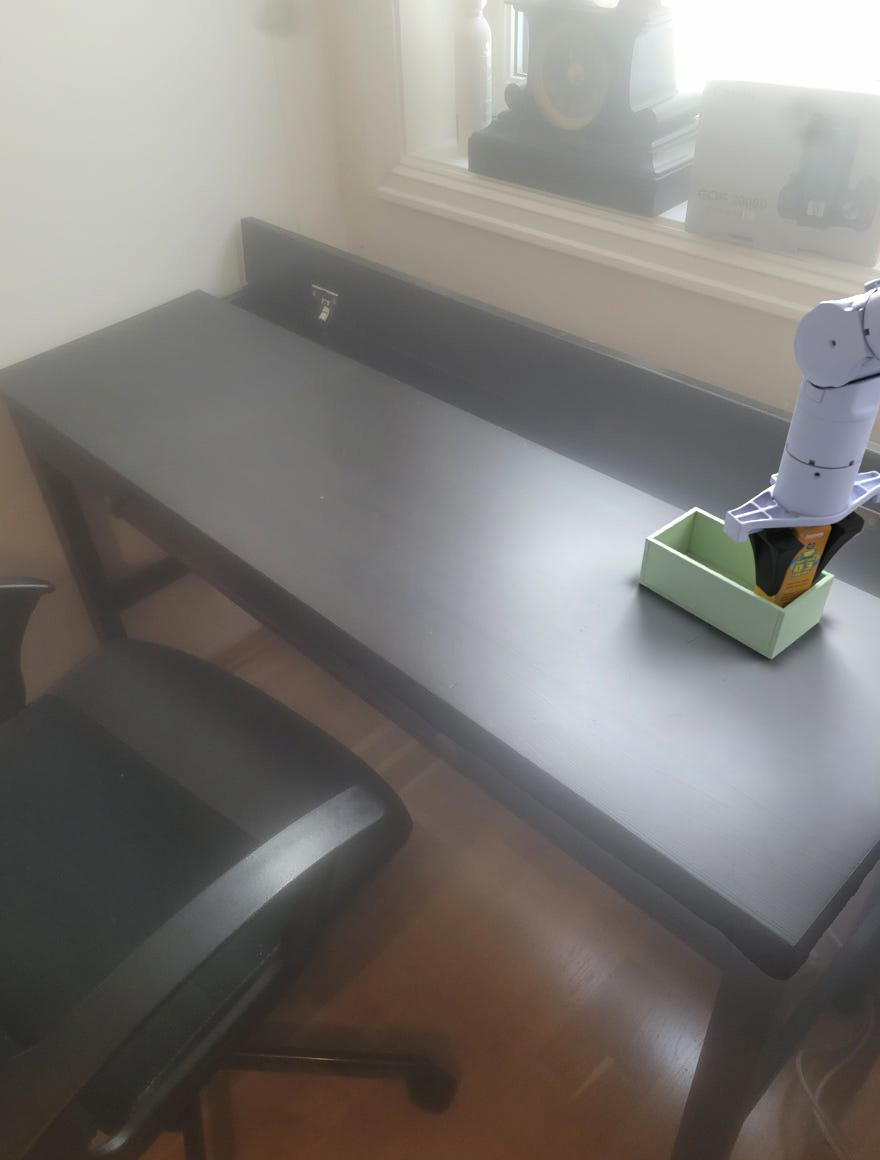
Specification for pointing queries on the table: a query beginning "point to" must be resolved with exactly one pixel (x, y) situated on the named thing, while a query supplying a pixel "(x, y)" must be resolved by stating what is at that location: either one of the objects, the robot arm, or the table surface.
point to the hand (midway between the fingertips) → (784, 583)
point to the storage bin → (725, 584)
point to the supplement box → (800, 565)
